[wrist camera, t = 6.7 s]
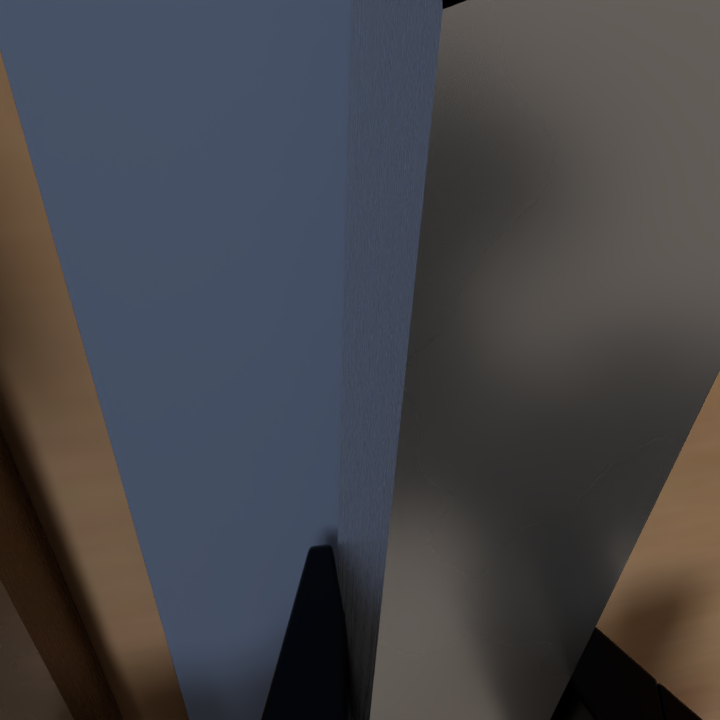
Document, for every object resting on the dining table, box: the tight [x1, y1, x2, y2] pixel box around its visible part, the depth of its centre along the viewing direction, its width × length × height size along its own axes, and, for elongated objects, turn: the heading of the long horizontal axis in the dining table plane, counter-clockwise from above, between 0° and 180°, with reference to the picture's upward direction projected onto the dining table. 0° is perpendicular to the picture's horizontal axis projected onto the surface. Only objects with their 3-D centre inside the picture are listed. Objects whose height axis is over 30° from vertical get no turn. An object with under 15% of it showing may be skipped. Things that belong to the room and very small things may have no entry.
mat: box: [0, 0, 351, 720], centre depth 10 cm, size 30×10×1 cm, turn 178°
